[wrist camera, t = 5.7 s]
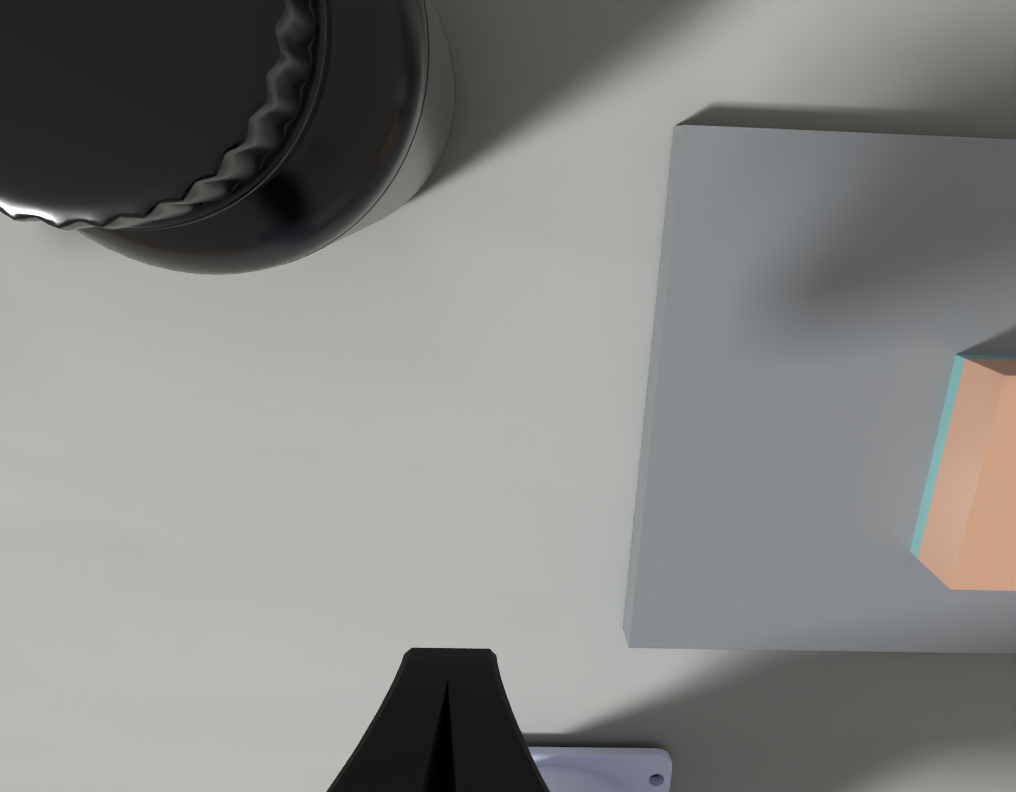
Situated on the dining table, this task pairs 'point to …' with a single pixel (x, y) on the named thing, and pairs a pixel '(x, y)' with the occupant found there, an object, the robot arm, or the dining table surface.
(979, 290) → the slate board
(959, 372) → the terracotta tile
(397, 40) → the supplement bottle
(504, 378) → the dining table surface
